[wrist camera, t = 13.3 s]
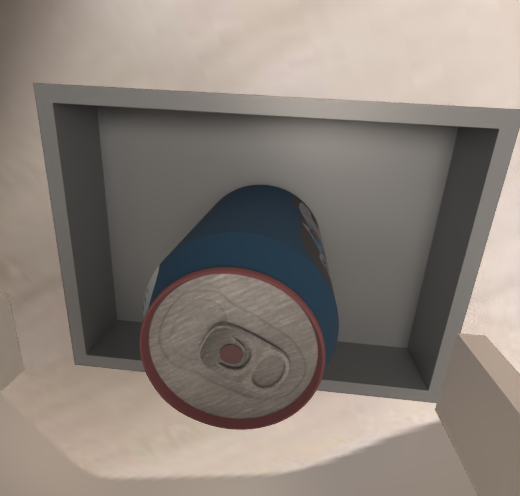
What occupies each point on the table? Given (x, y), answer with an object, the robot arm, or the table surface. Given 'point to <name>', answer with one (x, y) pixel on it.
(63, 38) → the table surface
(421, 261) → the bin
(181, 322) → the soda can
